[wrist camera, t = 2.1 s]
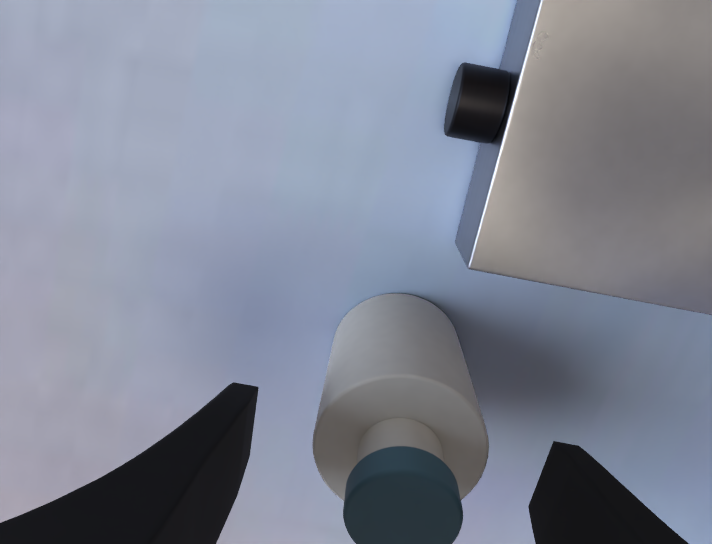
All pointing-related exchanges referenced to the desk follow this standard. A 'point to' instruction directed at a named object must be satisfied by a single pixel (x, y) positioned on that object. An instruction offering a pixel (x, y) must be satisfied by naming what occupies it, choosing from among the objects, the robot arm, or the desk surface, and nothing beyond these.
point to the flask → (594, 150)
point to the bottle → (399, 423)
